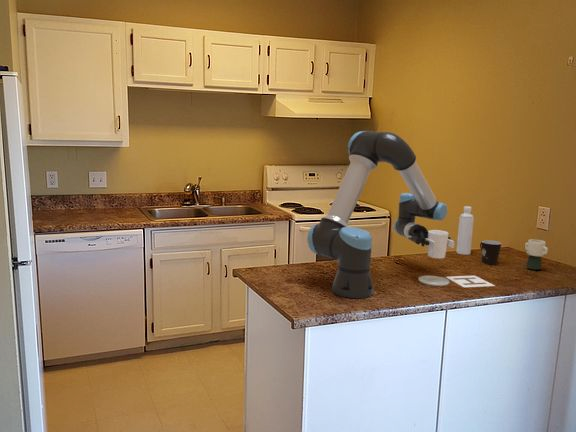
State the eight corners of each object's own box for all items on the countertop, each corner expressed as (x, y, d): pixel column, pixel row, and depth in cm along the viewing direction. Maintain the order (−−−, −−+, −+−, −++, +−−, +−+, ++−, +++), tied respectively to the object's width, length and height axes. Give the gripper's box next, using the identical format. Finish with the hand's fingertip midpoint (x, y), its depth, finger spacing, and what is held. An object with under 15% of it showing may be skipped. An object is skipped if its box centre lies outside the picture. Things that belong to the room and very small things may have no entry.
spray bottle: (455, 250, 261) (459, 202, 256) (468, 251, 260) (473, 203, 256) (457, 254, 254) (462, 204, 250) (471, 255, 253) (476, 205, 249)
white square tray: (464, 287, 201) (464, 287, 201) (445, 277, 214) (445, 276, 214) (495, 286, 204) (495, 285, 204) (474, 275, 218) (474, 275, 217)
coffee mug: (500, 266, 234) (503, 245, 232) (481, 264, 236) (483, 243, 234) (496, 260, 245) (498, 239, 244) (477, 258, 247) (479, 238, 245)
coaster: (427, 286, 200) (427, 285, 200) (413, 277, 212) (413, 276, 212) (455, 285, 203) (455, 283, 203) (439, 276, 215) (439, 275, 215)
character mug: (549, 271, 228) (553, 243, 226) (539, 273, 225) (543, 244, 223) (527, 265, 238) (531, 237, 236) (517, 266, 234) (521, 239, 232)
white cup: (422, 256, 206) (424, 231, 204) (431, 252, 211) (433, 229, 210) (440, 260, 200) (443, 235, 199) (450, 256, 206) (452, 232, 204)
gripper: (436, 240, 225) (466, 253, 203) (393, 241, 220) (419, 255, 198) (438, 223, 224) (468, 235, 202) (394, 224, 219) (420, 236, 197)
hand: (443, 245), depth 200 cm, fingers closed on white cup, 7 cm apart
